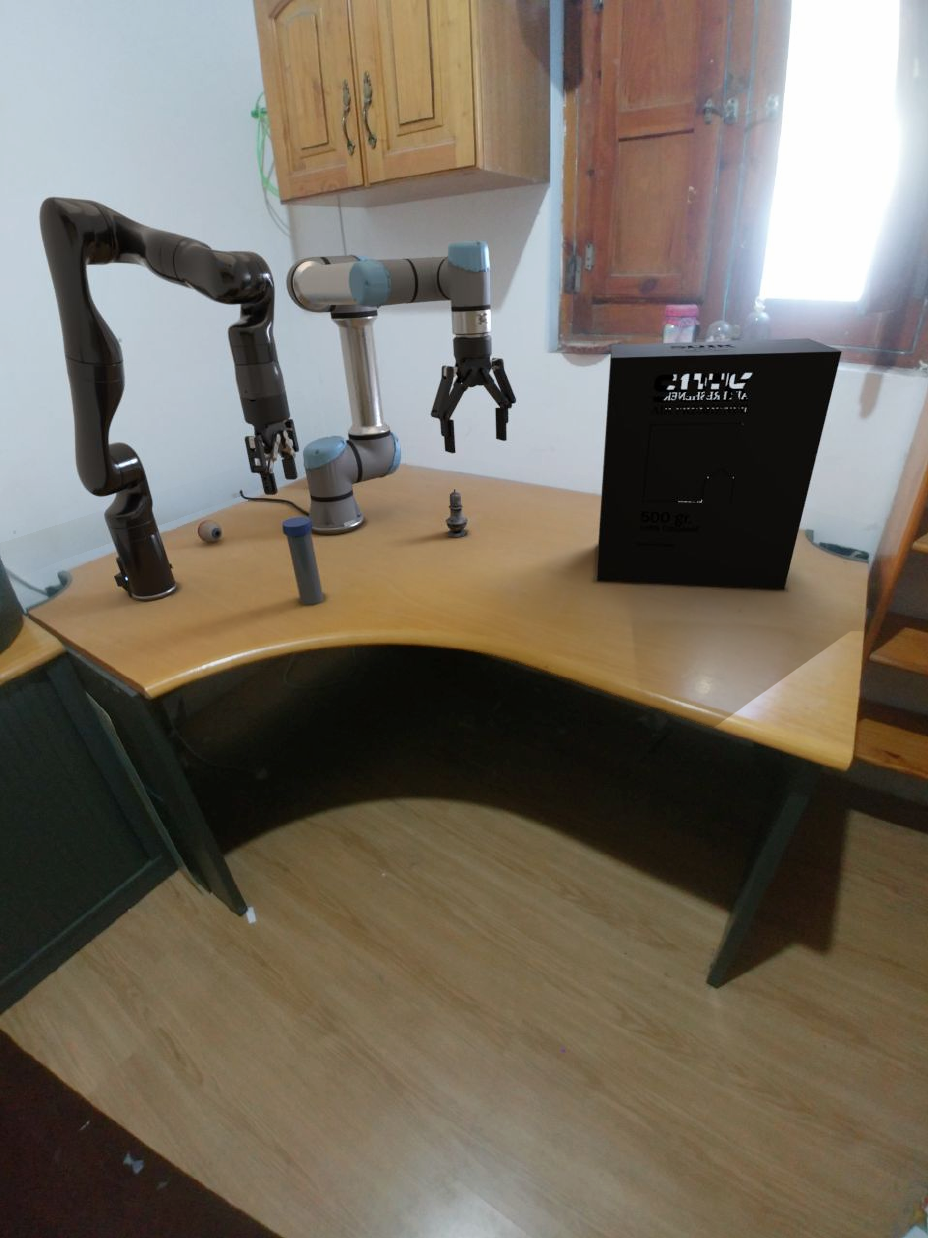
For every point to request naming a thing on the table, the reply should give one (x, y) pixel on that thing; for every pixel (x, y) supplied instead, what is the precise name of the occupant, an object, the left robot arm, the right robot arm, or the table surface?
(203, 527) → the eyeball
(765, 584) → the cardboard box
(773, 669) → the table surface
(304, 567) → the jar
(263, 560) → the table surface
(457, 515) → the salt shaker
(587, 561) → the table surface
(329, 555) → the table surface
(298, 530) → the lid
